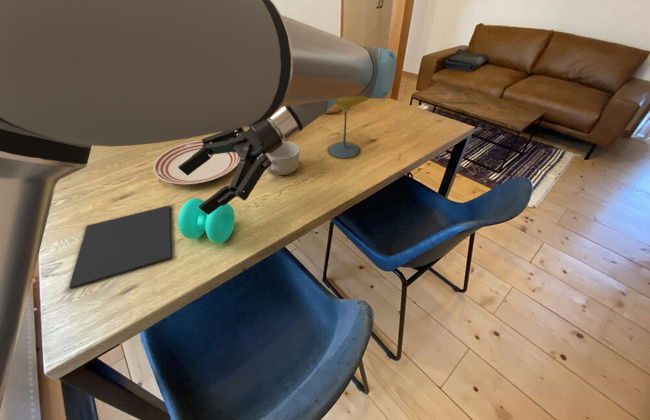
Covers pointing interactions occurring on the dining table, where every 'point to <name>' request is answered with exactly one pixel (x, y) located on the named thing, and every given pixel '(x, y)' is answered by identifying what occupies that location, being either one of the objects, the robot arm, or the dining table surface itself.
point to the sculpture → (334, 109)
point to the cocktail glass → (345, 148)
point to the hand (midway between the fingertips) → (192, 189)
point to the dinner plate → (208, 171)
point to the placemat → (123, 245)
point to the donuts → (206, 221)
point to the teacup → (284, 159)
